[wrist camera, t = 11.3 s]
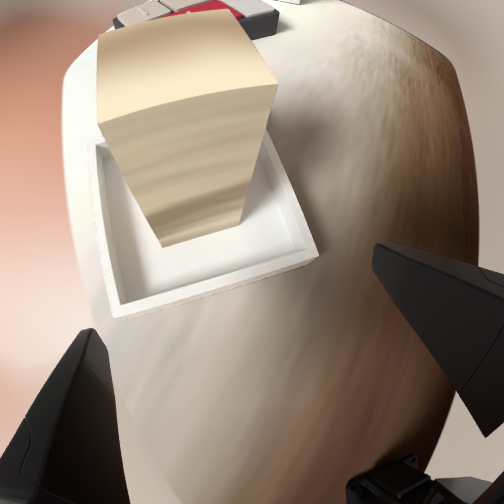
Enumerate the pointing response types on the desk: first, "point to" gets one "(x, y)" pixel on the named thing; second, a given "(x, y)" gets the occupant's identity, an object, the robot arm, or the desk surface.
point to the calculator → (175, 3)
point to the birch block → (184, 118)
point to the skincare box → (291, 1)
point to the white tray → (193, 240)
